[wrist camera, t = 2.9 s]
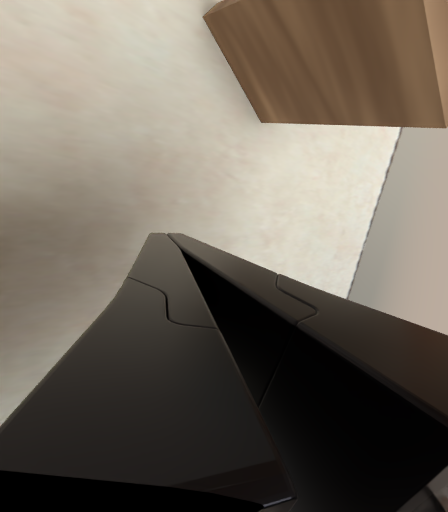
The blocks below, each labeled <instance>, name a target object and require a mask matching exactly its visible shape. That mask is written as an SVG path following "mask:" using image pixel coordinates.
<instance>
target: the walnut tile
mask: <svg viewBox="0 0 448 512" xmlns="http://www.w3.org/2000/svg"><path fill="white" fill-rule="evenodd" d="M203 18H204V20H205V22H206V24H207V25H208V27H209V29H210V31H211V33H212V34H213V36H214V38H215V40H216V42H217V43H218V45H219V47H220V49H221V51H222V52H223V54H224V56H225V58H226V60H227V61H228V63H229V65H230V67H231V69H232V70H233V72H234V74H235V76H236V78H237V80H238V81H239V83H240V85H241V87H242V89H243V90H244V92H245V94H246V96H247V98H248V99H249V101H250V103H251V105H252V107H253V108H254V110H255V112H256V114H257V116H258V117H259V119H260V121H261V123H292V124H324V125H356V126H388V127H421V128H447V127H448V0H223V1H221V2H219V3H217V4H216V5H215V6H214V7H213V8H212V9H211V10H210V11H209V12H208V13H206V14H205V15H204V16H203Z"/></svg>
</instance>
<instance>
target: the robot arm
mask: <svg viewBox="0 0 448 512" xmlns="http://www.w3.org/2000/svg"><path fill="white" fill-rule="evenodd" d="M277 275H278V276H277ZM0 512H448V335H445V334H442V333H440V332H437V331H434V330H431V329H428V328H425V327H422V326H420V325H417V324H414V323H411V322H409V321H406V320H403V319H400V318H397V317H395V316H392V315H389V314H386V313H383V312H381V311H378V310H375V309H372V308H369V307H367V306H364V305H361V304H358V303H355V302H352V301H350V300H347V299H344V298H341V297H338V296H336V295H333V294H330V293H327V292H325V291H322V290H319V289H317V288H314V287H311V286H309V285H306V284H304V283H301V282H299V281H296V280H294V279H291V278H289V277H286V276H284V275H281V274H277V273H275V272H273V271H270V270H268V269H266V268H263V267H261V266H258V265H256V264H254V263H251V262H249V261H246V260H244V259H242V258H239V257H237V256H234V255H232V254H230V253H227V252H225V251H222V250H220V249H218V248H215V247H213V246H210V245H208V244H206V243H203V242H201V241H198V240H196V239H193V238H191V237H189V236H186V235H184V234H180V233H168V234H167V235H166V234H165V233H150V234H149V236H148V238H147V240H146V242H145V244H144V245H143V247H142V249H141V251H140V253H139V255H138V257H137V259H136V261H135V262H134V264H133V266H132V268H131V270H130V272H129V274H128V276H127V278H126V279H125V281H124V282H123V284H122V286H121V288H120V289H119V291H118V293H117V294H116V296H115V297H114V299H113V300H112V301H111V302H110V304H109V305H108V306H107V307H106V308H105V310H104V311H103V312H102V313H101V314H100V315H99V316H98V317H97V319H96V320H95V321H94V322H93V323H92V324H91V325H90V326H89V328H88V329H87V330H86V331H85V332H84V333H83V334H82V335H81V337H80V338H79V339H78V340H77V341H76V342H75V343H74V344H73V345H72V347H71V348H70V349H69V350H68V351H67V352H66V353H65V354H64V356H63V357H62V358H61V359H60V360H59V361H58V362H57V363H56V364H55V366H54V367H53V368H52V369H51V370H50V371H49V372H48V373H47V375H46V376H45V377H44V378H43V379H42V380H41V381H40V382H39V384H38V385H37V386H36V387H35V388H34V389H33V390H32V391H31V392H30V394H29V395H28V396H27V397H26V398H25V399H24V400H23V401H22V403H21V404H20V405H19V406H18V407H17V408H16V409H15V410H14V411H13V413H12V414H11V415H10V416H9V417H8V418H7V419H6V420H5V422H4V423H3V424H2V425H1V426H0Z"/></svg>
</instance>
